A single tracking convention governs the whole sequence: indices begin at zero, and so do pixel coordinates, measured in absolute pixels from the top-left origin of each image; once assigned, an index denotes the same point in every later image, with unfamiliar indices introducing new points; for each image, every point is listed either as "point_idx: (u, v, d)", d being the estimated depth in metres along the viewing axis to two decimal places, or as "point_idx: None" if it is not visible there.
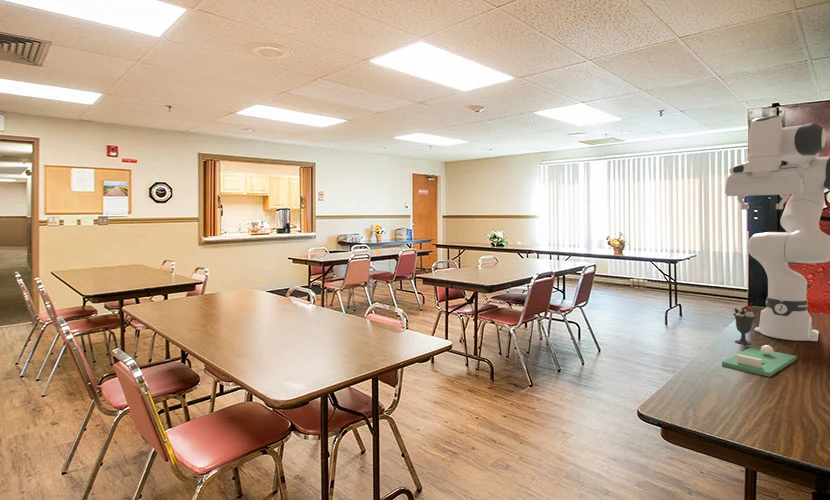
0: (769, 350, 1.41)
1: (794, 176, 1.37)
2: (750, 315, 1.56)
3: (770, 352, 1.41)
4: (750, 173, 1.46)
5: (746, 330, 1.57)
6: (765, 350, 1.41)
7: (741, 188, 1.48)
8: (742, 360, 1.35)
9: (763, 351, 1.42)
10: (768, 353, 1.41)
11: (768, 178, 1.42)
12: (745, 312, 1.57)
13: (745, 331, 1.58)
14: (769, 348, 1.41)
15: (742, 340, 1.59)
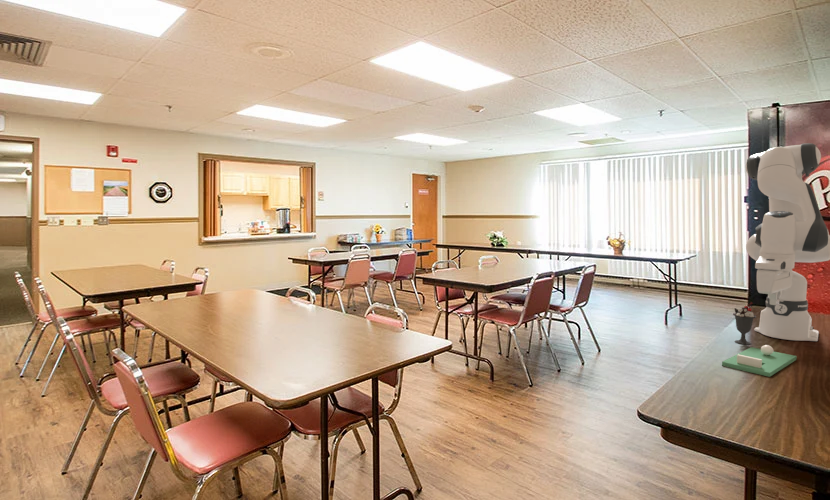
0: (769, 350, 1.41)
1: (791, 271, 1.46)
2: (750, 315, 1.56)
3: (770, 352, 1.41)
4: None
5: (746, 330, 1.57)
6: (765, 350, 1.41)
7: (776, 285, 1.39)
8: (742, 360, 1.35)
9: (763, 351, 1.42)
10: (768, 353, 1.41)
11: (783, 274, 1.43)
12: (745, 312, 1.57)
13: (745, 331, 1.58)
14: (769, 348, 1.41)
15: (742, 340, 1.59)
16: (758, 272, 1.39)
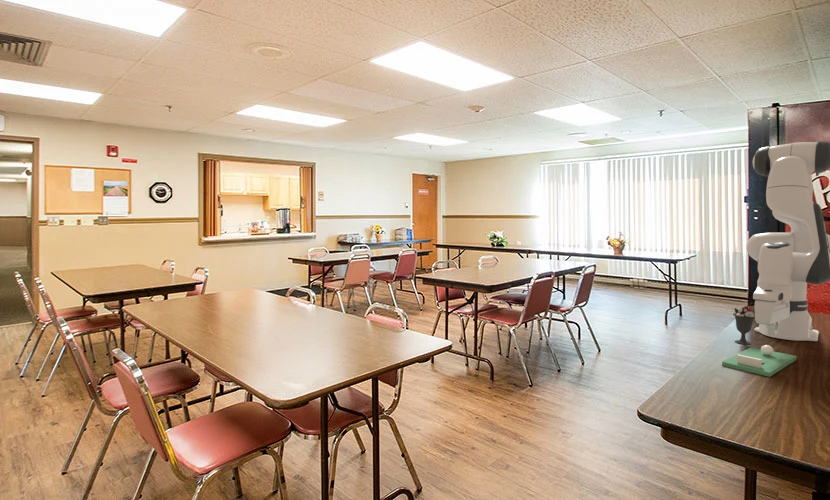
0: (769, 350, 1.41)
1: (789, 302, 1.47)
2: (750, 315, 1.56)
3: (770, 352, 1.41)
4: None
5: (746, 330, 1.57)
6: (765, 350, 1.41)
7: (774, 316, 1.39)
8: (742, 360, 1.35)
9: (763, 351, 1.42)
10: (768, 353, 1.41)
11: (781, 304, 1.43)
12: (745, 312, 1.57)
13: (745, 331, 1.58)
14: (769, 348, 1.41)
15: (742, 340, 1.59)
16: (756, 303, 1.40)
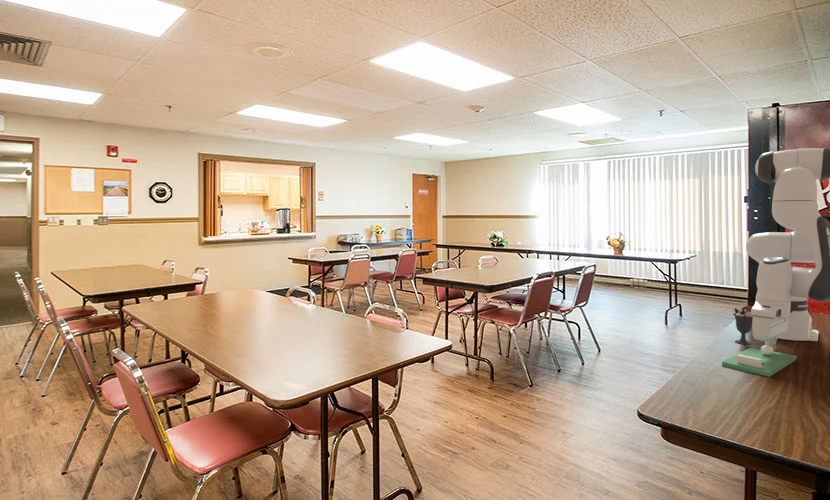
0: (769, 350, 1.41)
1: (787, 316, 1.47)
2: (750, 315, 1.56)
3: (770, 352, 1.41)
4: None
5: (746, 330, 1.57)
6: (765, 350, 1.41)
7: (772, 332, 1.39)
8: (742, 360, 1.35)
9: (763, 351, 1.42)
10: (768, 353, 1.41)
11: (779, 319, 1.43)
12: (745, 312, 1.57)
13: (745, 331, 1.58)
14: (769, 348, 1.41)
15: (742, 340, 1.59)
16: (754, 319, 1.40)
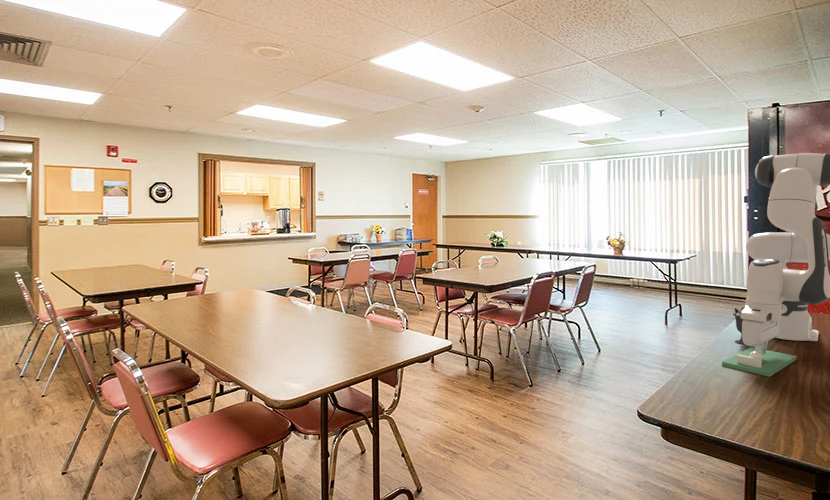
0: (758, 356, 1.35)
1: (779, 320, 1.42)
2: None
3: (759, 358, 1.35)
4: None
5: None
6: (754, 356, 1.36)
7: (762, 336, 1.34)
8: (742, 360, 1.35)
9: None
10: None
11: (770, 323, 1.38)
12: None
13: None
14: (757, 355, 1.35)
15: (742, 340, 1.59)
16: (743, 323, 1.34)
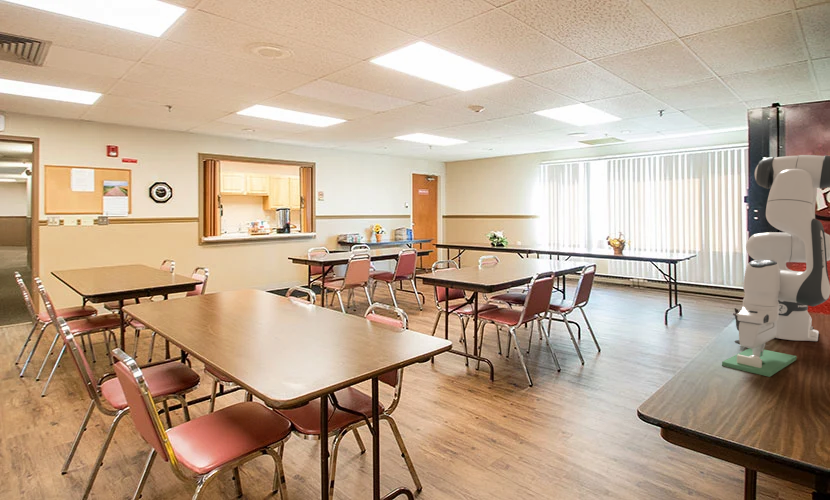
0: None
1: (776, 321, 1.40)
2: None
3: None
4: None
5: None
6: None
7: (759, 338, 1.33)
8: (742, 360, 1.35)
9: None
10: None
11: None
12: None
13: None
14: None
15: None
16: (740, 325, 1.33)
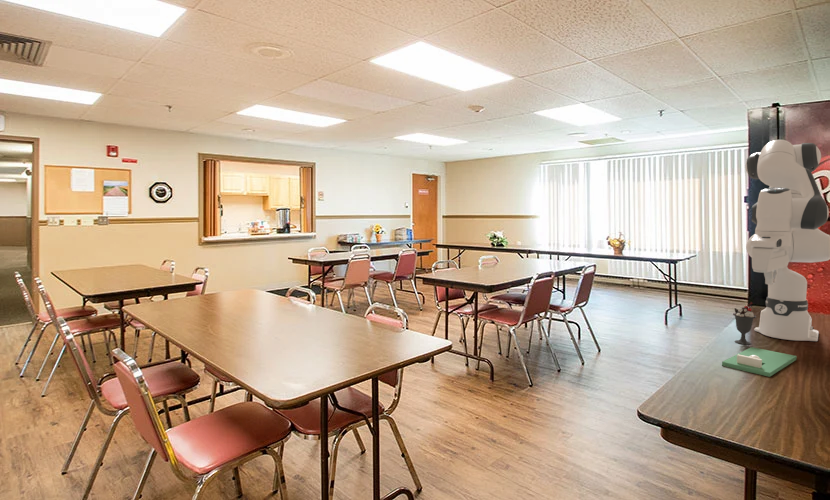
0: None
1: (788, 250, 1.42)
2: (750, 315, 1.56)
3: None
4: None
5: (746, 330, 1.57)
6: None
7: (772, 263, 1.34)
8: (742, 360, 1.35)
9: None
10: None
11: (780, 252, 1.38)
12: (745, 312, 1.57)
13: (745, 331, 1.58)
14: None
15: (742, 340, 1.59)
16: (753, 250, 1.35)
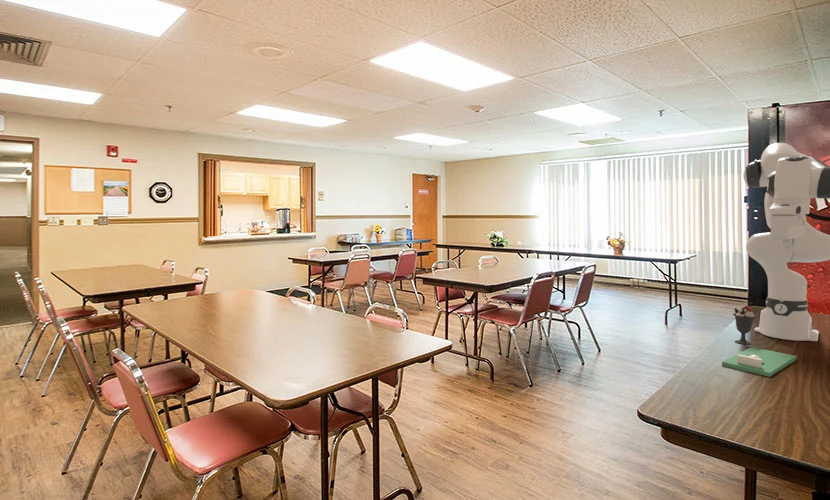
0: None
1: None
2: (750, 315, 1.56)
3: None
4: None
5: (746, 330, 1.57)
6: None
7: (791, 231, 1.34)
8: (742, 360, 1.35)
9: None
10: None
11: (798, 221, 1.38)
12: (745, 312, 1.57)
13: (745, 331, 1.58)
14: None
15: (742, 340, 1.59)
16: (772, 218, 1.35)
